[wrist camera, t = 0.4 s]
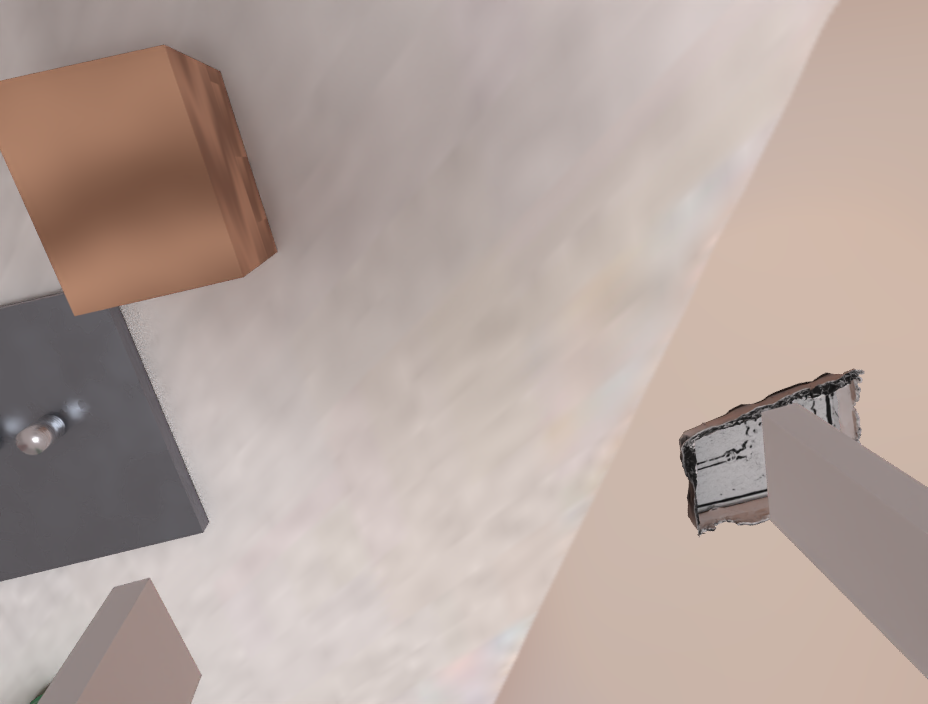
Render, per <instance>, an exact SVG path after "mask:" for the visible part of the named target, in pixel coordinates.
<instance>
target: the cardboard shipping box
mask: <svg viewBox="0 0 928 704" xmlns="http://www.w3.org/2000/svg"><path fill="white" fill-rule="evenodd" d="M0 150H1V152H2V155H3V157H4V159H5V161H6V164H7V166H8V168H9V170H10V173H11V175H12V177H13V179H14V182H15V184H16V186H17V188H18V191H19V193H20V195H21V197H22V200H23V202H24V204H25V206H26V208H27V211H28V213H29V215H30V217H31V220H32V222H33V224H34V226H35V229H36V231H37V233H38V235H39V238H40V240H41V242H42V244H43V247H44V249H45V251H46V253H47V256H48V258H49V260H50V262H51V265H52V267H53V269H54V271H55V273H56V276H57V278H58V280H59V282H60V285H61V287H62V289H63V291H64V294H65V296H66V298H67V300H68V303H69V305H70V307H71V309H72V312H73V314H74V316H78V315H82V314H86V313H91V312H95V311H99V310H104V309H108V308H112V307H117V306H121V305H125V304H130V303H134V302H138V301H143V300H147V299H151V298H156V297H160V296H164V295H169V294H173V293H177V292H182V291H186V290H190V289H194V288H199V287H203V286H207V285H212V284H216V283H220V282H225V281H229V280H233V279H238V278H242V277H244V276H246V275H247V274H248V273H250V272H251V271H252V270H254V269H255V268H256V267H258V266H259V265H260V264H262V263H263V262H265V261H266V260H267V259H269V258H270V257H271V256H273V255H274V254H275V253H277V249H276V245H275V242H274V239H273V236H272V233H271V230H270V227H269V223H268V220H267V217H266V214H265V211H264V208H263V205H262V201H261V198H260V195H259V192H258V189H257V186H256V183H255V179H254V176H253V173H252V170H251V167H250V164H249V161H248V157H247V154H246V151H245V148H244V145H243V142H242V139H241V135H240V132H239V129H238V126H237V123H236V120H235V117H234V113H233V110H232V107H231V104H230V101H229V98H228V95H227V91H226V88H225V85H224V82H223V79H222V76H221V73H220V71H218V70H216V69H214V68H212V67H210V66H208V65H206V64H204V63H201V62H199V61H197V60H195V59H193V58H191V57H189V56H187V55H185V54H183V53H180V52H178V51H176V50H174V49H172V48H170V47H168V46H166V45H160V46H156V47H151V48H147V49H142V50H138V51H133V52H129V53H124V54H120V55H115V56H110V57H106V58H101V59H97V60H92V61H88V62H83V63H79V64H74V65H70V66H65V67H61V68H56V69H52V70H47V71H43V72H38V73H33V74H29V75H24V76H20V77H15V78H11V79H6V80H2V81H0Z"/></svg>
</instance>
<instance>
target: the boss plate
mask: <svg viewBox="0 0 928 704" xmlns="http://www.w3.org/2000/svg"><path fill="white" fill-rule="evenodd" d="M208 523H209V521H208V519H207V516H206V514H205V512H204V509H203V507H202V504H201V502H200V500H199V497H198V495H197V493H196V490H195V488H194V485H193V483H192V481H191V478H190V476H189V473H188V471H187V469H186V466H185V464H184V461H183V459H182V457H181V454H180V452H179V450H178V447H177V445H176V442H175V440H174V438H173V435H172V433H171V430H170V428H169V426H168V423H167V421H166V418H165V416H164V414H163V411H162V409H161V407H160V404H159V402H158V399H157V397H156V395H155V392H154V390H153V387H152V385H151V383H150V380H149V378H148V375H147V373H146V371H145V368H144V366H143V364H142V361H141V359H140V356H139V354H138V352H137V349H136V347H135V344H134V342H133V340H132V337H131V335H130V332H129V330H128V328H127V325H126V323H125V321H124V318H123V316H122V313H121V311H120V309H119V306H117V307H112V308H108V309H104V310H99V311H95V312H91V313H86V314H82V315H78V316H74V314H73V312H72V309H71V307H70V305H69V303H68V300H67V298H66V296H65V294H64V292H62V293H58V294H54V295H49V296H45V297H41V298H36V299H32V300H28V301H23V302H19V303H15V304H10V305H6V306H2V307H0V581H4V580H9V579H13V578H17V577H21V576H25V575H29V574H33V573H38V572H42V571H46V570H50V569H54V568H58V567H62V566H67V565H71V564H75V563H79V562H83V561H87V560H91V559H96V558H100V557H104V556H108V555H112V554H116V553H120V552H125V551H129V550H133V549H137V548H141V547H145V546H149V545H154V544H158V543H162V542H166V541H170V540H174V539H178V538H183V537H187V536H191V535H195V534H199V533H203V532H204V530H205V528H206V526H207V525H208Z"/></svg>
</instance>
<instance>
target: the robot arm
mask: <svg viewBox="0 0 928 704" xmlns="http://www.w3.org/2000/svg"><path fill="white" fill-rule="evenodd" d="M761 415H762V427H763V439H764V452H765V464H766V476H767V488H768V501H769V513H770V520H771V521H772V522H773V524H775V525H776V526H777V528H779V530H780V531H781V532H782V533H783V534H784V535H785V536H786V537H788V539H789V540H790V541H791V542H792V543H794V545H795V546H796V547H797V548H798V549H799V550H800V551H801V552H802V553H803V554H804V555H805V556H806V557H807V558H808V559H809V560H810V561H811V562H812V563H813V564H814V565H815V566H816V567H817V568H818V569H819V570H820V571H821V572H822V573H823V574H824V575H825V576H826V577H827V578H828V579H829V580H830V581H831V582H832V583H833V584H834V585H835V586H836V587H837V588H838V589H839V590H840V591H841V592H842V593H843V594H844V595H845V596H846V597H847V598H848V599H849V600H850V601H851V602H852V603H853V604H854V605H855V606H856V607H857V608H858V609H859V610H860V611H861V612H862V613H863V614H864V615H865V616H866V617H867V618H868V619H869V620H870V621H871V622H872V623H873V624H874V625H875V626H876V627H877V628H878V629H879V630H880V631H881V632H882V633H883V634H884V635H885V637H886V638H888V640H889V641H890V642H891V643H892V644H893V645H894V646H895V647H896V648H897V649H898V650H899V651H901V652H902V654H904V656H905V657H906V658H907V659H908V660H909V661H910V662H911V663H912V664H913V665H914V666H915V667H916V668H917V669H918V670H919V671H920V672H921V673H922V674H923V675H924V676H925V677H926V678H927V679H928V487H926V486H925V485H923V484H922V483H920V482H919V481H917V480H915V479H914V478H912V477H911V476H909V475H908V474H906V473H904V472H903V471H901V470H900V469H899V468H897V467H895V466H894V465H892V464H891V463H889V462H888V461H886V460H884V459H883V458H881V457H880V456H878V455H877V454H875V453H873V452H872V451H870V450H869V449H867V448H866V447H864V446H863V445H861V444H860V443H858V442H857V441H855V440H854V439H852V438H850V437H849V436H847V435H846V434H844V433H843V432H841V431H840V430H838V429H836V428H835V427H833V426H832V425H830V424H829V423H827V422H826V421H824V420H822V419H821V418H819V417H818V416H816V415H815V414H813V413H812V412H810V411H808V410H807V409H805V408H804V407H802V406H801V405H799V404H798V403H794V404H790V405H786V406H783V407H779V408H775V409H772V410H768V411H764V412H761ZM201 676H202V675H201V673H200V671H199V669H198V667H197V665H196V664H195V662H194V660H193V658H192V656H191V654H190V652H189V650H188V648H187V647H186V645H185V643H184V641H183V639H182V637H181V635H180V633H179V632H178V630H177V628H176V626H175V624H174V622H173V620H172V618H171V616H170V615H169V613H168V611H167V609H166V607H165V605H164V603H163V601H162V600H161V598H160V596H159V594H158V592H157V590H156V588H155V586H154V584H153V583H152V581H151V579H150V578H147V579H143V580H139V581H135V582H132V583H128V584H124V585H121V586H117V587H114V588H113V589H112V591H111V592H110V594H109V595H108V597H107V598H106V600H105V601H104V603H103V604H102V606H101V607H100V609H99V610H98V612H97V614H96V615H95V617H94V618H93V620H92V621H91V623H90V624H89V626H88V627H87V629H86V630H85V632H84V633H83V635H82V636H81V638H80V639H79V641H78V642H77V644H76V646H75V647H74V649H73V650H72V652H71V653H70V655H69V656H68V658H67V659H66V661H65V662H64V664H63V665H62V667H61V668H60V670H59V671H58V673H57V674H56V676H55V677H54V679H53V681H52V682H51V684H50V685H49V687H48V688H47V690H46V691H45V693H44V694H43V696H42V697H41V699H40V700H39V702H38V703H37V704H191V702H192V699H193V697H194V694H195V691H196V689H197V686H198V683H199V681H200V678H201Z"/></svg>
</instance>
